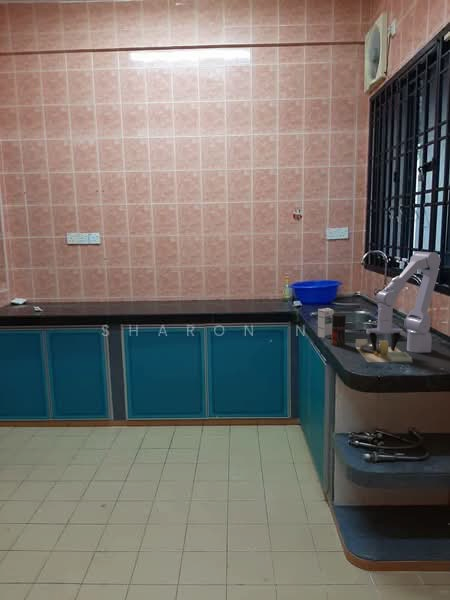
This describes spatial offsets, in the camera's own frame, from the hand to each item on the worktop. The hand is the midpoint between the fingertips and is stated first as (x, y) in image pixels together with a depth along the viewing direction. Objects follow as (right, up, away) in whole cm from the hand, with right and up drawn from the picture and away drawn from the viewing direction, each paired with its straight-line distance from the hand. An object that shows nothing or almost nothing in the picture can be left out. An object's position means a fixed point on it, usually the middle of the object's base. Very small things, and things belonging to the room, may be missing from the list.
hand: (383, 350), depth 187 cm
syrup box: (-17, +2, +34) cm, 38 cm away
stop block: (0, -2, 0) cm, 2 cm away
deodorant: (-15, 0, +17) cm, 23 cm away
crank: (-4, -1, +6) cm, 7 cm away
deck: (0, -3, +2) cm, 3 cm away
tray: (+4, -3, -6) cm, 8 cm away
